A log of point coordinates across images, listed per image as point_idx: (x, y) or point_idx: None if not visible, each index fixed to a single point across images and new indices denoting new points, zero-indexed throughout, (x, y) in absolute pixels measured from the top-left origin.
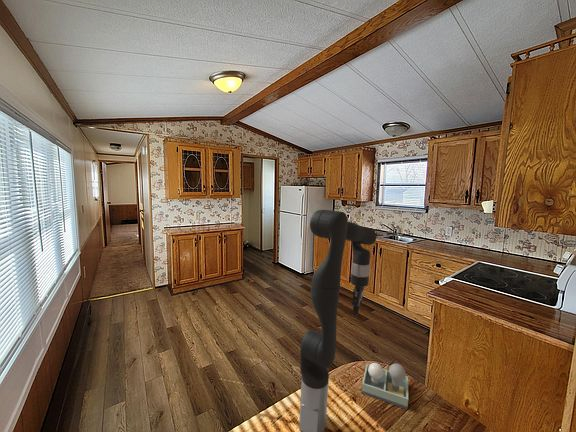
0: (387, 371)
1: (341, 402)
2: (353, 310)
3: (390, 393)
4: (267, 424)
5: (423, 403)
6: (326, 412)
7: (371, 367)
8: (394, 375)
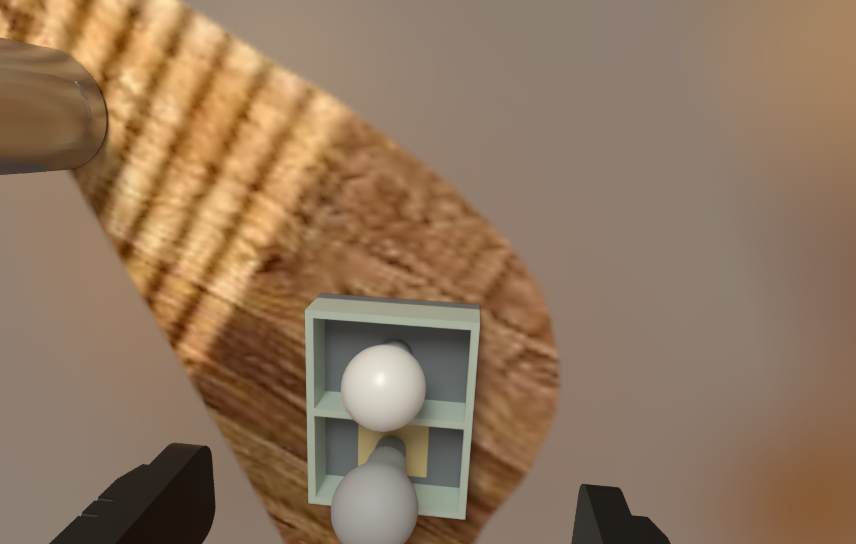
0: (463, 429)
1: (221, 211)
2: (147, 474)
3: (307, 436)
4: None
5: None
6: (12, 173)
7: (358, 376)
8: (334, 494)
